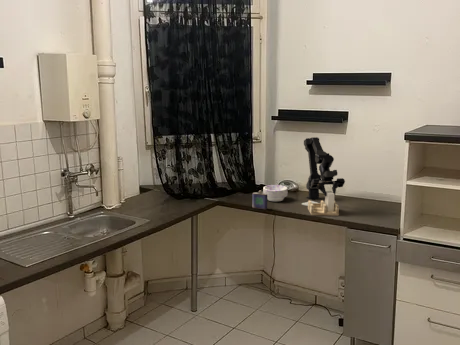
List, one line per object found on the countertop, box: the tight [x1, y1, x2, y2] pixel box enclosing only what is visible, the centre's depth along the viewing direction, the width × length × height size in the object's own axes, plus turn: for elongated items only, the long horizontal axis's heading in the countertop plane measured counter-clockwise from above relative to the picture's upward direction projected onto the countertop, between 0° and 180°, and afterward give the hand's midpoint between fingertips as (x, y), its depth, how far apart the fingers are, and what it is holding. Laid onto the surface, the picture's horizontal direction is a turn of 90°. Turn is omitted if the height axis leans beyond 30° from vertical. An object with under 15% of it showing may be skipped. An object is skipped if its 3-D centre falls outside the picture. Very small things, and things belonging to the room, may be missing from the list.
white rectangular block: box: [324, 190, 336, 211], centre depth 268 cm, size 4×6×10 cm, turn 6°
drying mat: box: [301, 200, 318, 207], centre depth 283 cm, size 12×9×1 cm
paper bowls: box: [262, 184, 289, 202], centre depth 295 cm, size 15×15×8 cm
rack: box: [307, 199, 340, 217], centre depth 269 cm, size 14×15×5 cm
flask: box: [252, 189, 268, 210], centre depth 276 cm, size 9×3×11 cm, turn 65°
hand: (330, 195), depth 266 cm, fingers open, 5 cm apart
